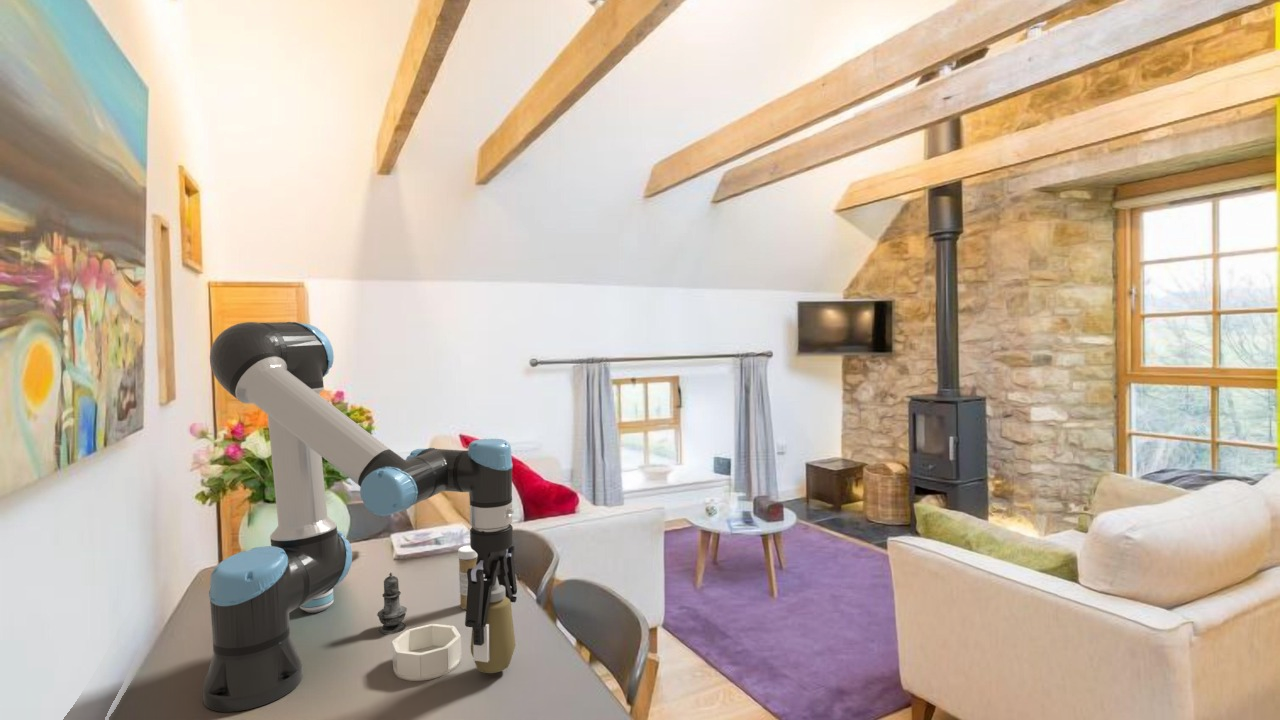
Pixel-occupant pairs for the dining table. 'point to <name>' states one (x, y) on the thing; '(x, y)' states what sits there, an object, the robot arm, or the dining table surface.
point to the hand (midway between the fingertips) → (493, 648)
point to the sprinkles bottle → (465, 570)
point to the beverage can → (319, 603)
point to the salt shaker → (392, 608)
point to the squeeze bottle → (498, 632)
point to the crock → (426, 652)
